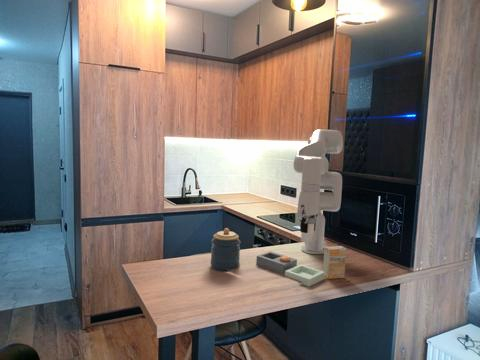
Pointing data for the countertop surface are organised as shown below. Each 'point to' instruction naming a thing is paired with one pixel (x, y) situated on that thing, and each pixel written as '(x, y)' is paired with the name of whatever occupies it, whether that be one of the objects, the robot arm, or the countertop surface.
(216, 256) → the canister
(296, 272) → the tray
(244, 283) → the countertop surface
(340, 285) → the countertop surface
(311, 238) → the cartridge
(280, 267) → the housing
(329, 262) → the supplement box
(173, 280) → the countertop surface
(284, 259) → the brown egg
